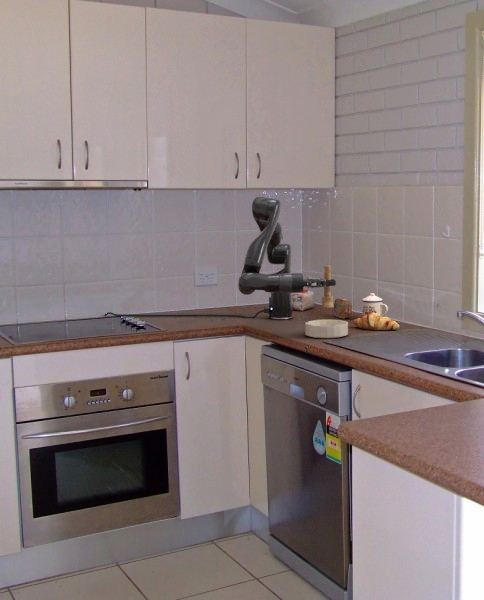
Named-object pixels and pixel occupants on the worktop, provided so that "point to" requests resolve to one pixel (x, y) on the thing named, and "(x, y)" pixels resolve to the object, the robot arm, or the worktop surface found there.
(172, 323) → the worktop surface
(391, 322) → the croissant
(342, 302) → the tin
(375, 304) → the teacup with lid
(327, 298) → the wooden pestle
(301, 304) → the food item
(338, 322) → the bowl
